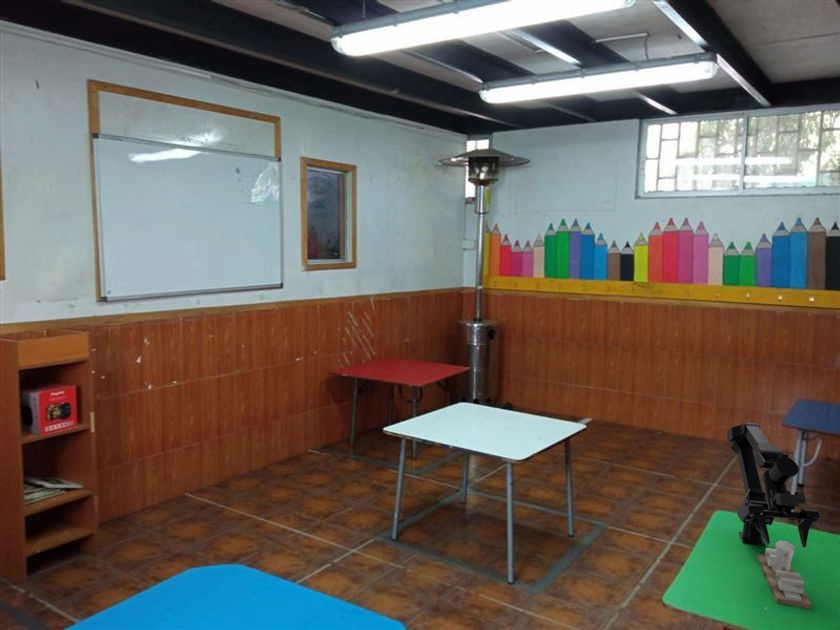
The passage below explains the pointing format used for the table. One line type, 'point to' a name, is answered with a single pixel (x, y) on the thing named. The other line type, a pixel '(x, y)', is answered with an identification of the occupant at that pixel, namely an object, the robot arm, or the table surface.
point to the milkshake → (783, 555)
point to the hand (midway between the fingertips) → (786, 545)
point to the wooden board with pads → (783, 582)
